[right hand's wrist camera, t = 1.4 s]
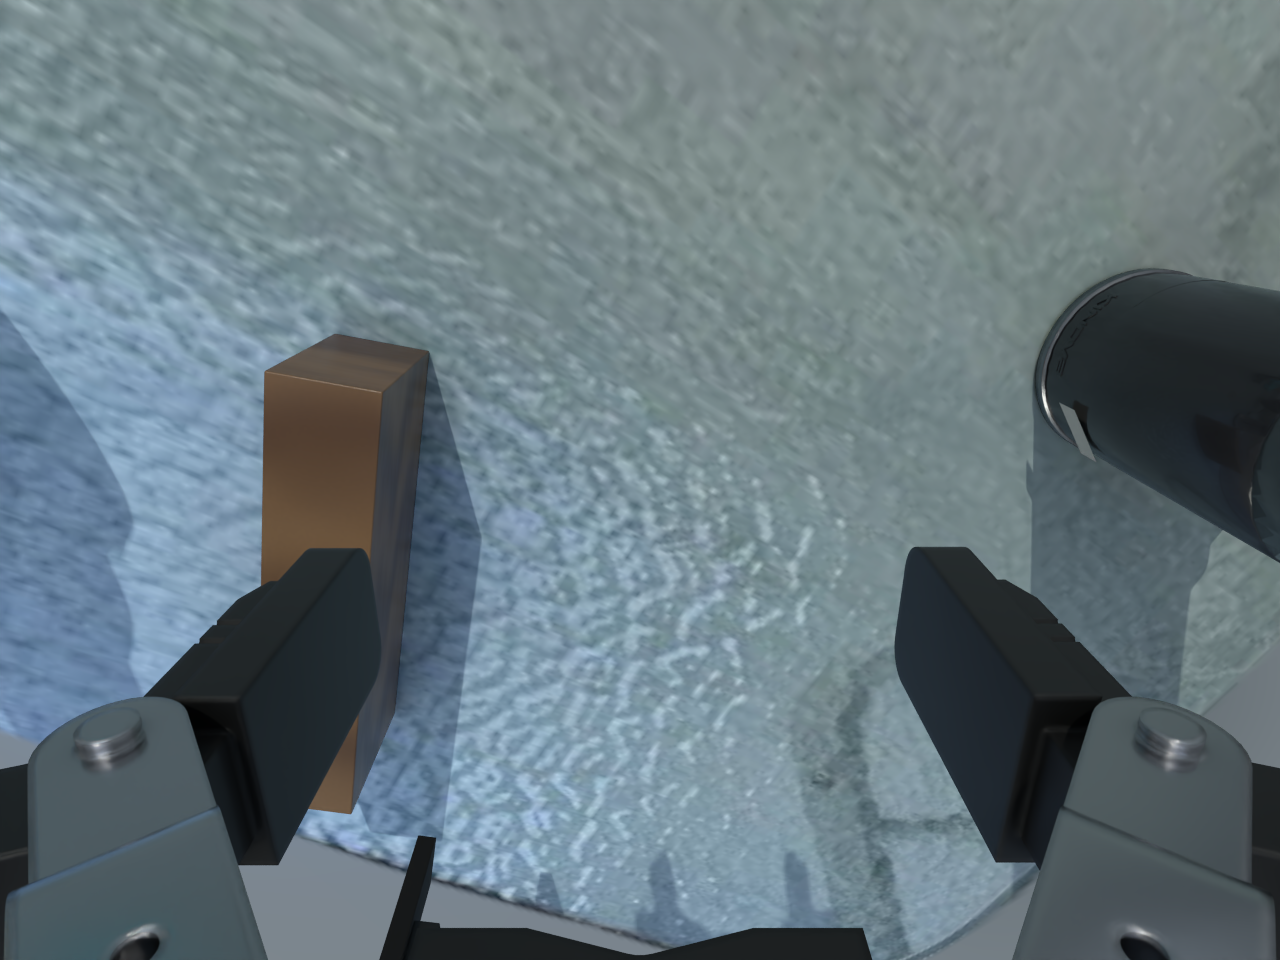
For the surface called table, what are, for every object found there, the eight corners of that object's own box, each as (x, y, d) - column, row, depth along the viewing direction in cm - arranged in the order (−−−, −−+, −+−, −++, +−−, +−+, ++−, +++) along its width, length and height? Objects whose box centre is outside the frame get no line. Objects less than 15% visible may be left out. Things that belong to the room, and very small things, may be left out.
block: (334, 333, 37) (263, 370, 30) (429, 351, 38) (382, 392, 30) (316, 701, 45) (256, 802, 38) (394, 713, 46) (351, 814, 38)
